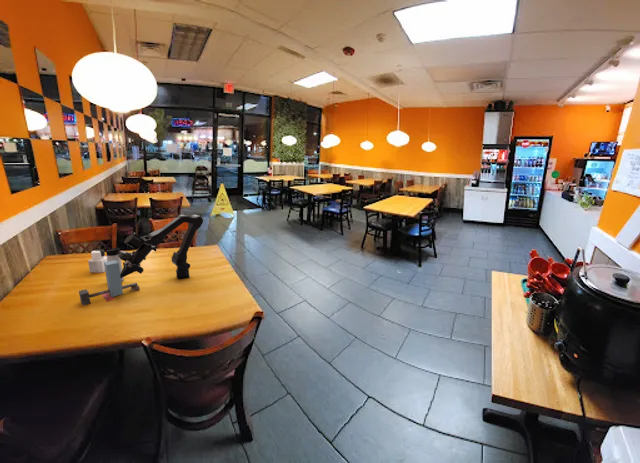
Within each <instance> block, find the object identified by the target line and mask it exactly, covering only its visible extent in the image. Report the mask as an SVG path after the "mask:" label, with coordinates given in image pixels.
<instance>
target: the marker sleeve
mask: <svg viewBox="0 0 640 463" xmlns="http://www.w3.org/2000/svg"><path fill="white" fill-rule="evenodd" d="M104 266H105V272H104V273H105V276H106V277H105V278H106V285H107V290H109V289H110V293H109V295H110V296H111V297H113V298H114V297H117V296H120V295H123V294H124V293H123V292H124V291H123V289H122V286H123V284H122V282H121V277H120V269H119V263H118V262H117V261H116V260H114V261H108V262H104Z"/></svg>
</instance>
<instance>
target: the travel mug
mask: <svg viewBox="0 0 640 463" xmlns="http://www.w3.org/2000/svg"><path fill="white" fill-rule="evenodd" d="M120 251H121V250H120V248H119V247H113V248H109V249H106V250H105V254H106V257H107V261H114V260H116V261H117V262H118V263H119V269H120V274H121V272H122V270H123V262H122V260H121V259H120V258H119V257H118V255H119V253H120ZM124 281H125V279H124V277H123V278H121V283H123V282H124Z"/></svg>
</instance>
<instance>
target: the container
mask: <svg viewBox="0 0 640 463" xmlns="http://www.w3.org/2000/svg"><path fill="white" fill-rule="evenodd" d="M90 255H91V259H88V260H87V261H88V262H87V263H88V267H89V268H88V269H89V273H103V274H104V273H106V272H105V266H104V262H108V261H107V256H106V251H105V250H104V249H101V248H100V249H99V248H98V249H94V250H92V251H91V252H90Z"/></svg>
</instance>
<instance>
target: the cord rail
mask: <svg viewBox="0 0 640 463" xmlns="http://www.w3.org/2000/svg"><path fill="white" fill-rule="evenodd" d="M129 288H130V290H131V291H132V292H136V291H140V286H139V284H138V282H133V283H129V284H125V285H122V290H125V289H129ZM109 293H110V289H109V290H108V289H106V290H101V291H97V292H94V293H89V290H88V289H81V290H78V295H79V299H80V303H81V305H82V306H83V307H84V306H87V305H90V304H91V303H92V302H91V298H94V297H95V298H96V297H99V296H102V297H103V298H104V299H105V301H106V302H109V301H110V302H111V301H113V300H115V298H114V297H111V296H110V295H109Z"/></svg>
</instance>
